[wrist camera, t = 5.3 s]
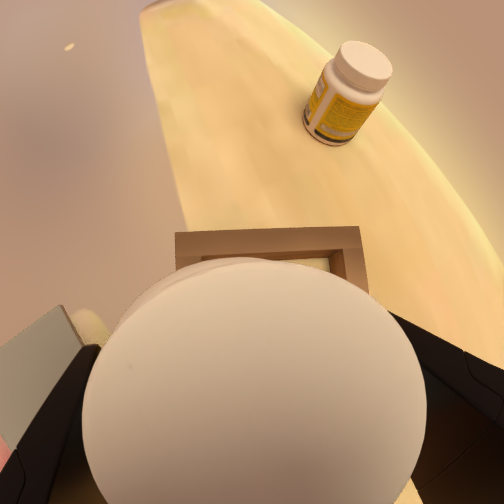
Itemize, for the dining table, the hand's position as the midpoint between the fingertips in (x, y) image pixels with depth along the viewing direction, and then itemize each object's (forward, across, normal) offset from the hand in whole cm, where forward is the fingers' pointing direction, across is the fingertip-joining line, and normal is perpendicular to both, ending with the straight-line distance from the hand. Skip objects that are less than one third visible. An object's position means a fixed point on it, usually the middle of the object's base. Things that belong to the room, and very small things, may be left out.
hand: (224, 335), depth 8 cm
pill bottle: (+4, 0, +6) cm, 7 cm away
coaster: (+7, +13, +12) cm, 19 cm away
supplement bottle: (+20, -13, -1) cm, 24 cm away
